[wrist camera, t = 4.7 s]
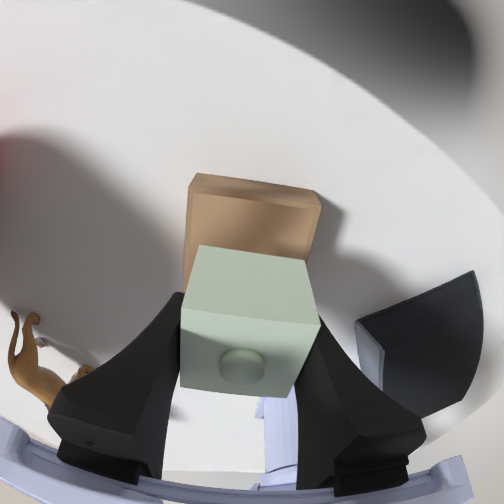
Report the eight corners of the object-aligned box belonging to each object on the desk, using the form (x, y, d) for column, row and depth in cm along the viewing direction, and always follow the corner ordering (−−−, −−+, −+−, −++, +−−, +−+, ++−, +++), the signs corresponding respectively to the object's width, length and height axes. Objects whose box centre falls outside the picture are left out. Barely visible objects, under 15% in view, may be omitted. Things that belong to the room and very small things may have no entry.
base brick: (313, 190, 18) (322, 206, 16) (289, 284, 21) (292, 308, 19) (196, 173, 17) (188, 186, 15) (189, 271, 21) (182, 293, 19)
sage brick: (304, 260, 13) (323, 336, 9) (280, 333, 15) (287, 407, 11) (199, 244, 13) (178, 318, 9) (192, 322, 15) (178, 396, 11)
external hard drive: (372, 413, 33) (378, 440, 29) (345, 318, 24) (356, 356, 20) (461, 376, 30) (472, 400, 27) (477, 262, 21) (501, 290, 18)
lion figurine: (127, 385, 29) (106, 456, 21) (103, 395, 30) (83, 458, 23) (20, 297, 23) (-26, 362, 15) (7, 317, 25) (-31, 375, 17)
